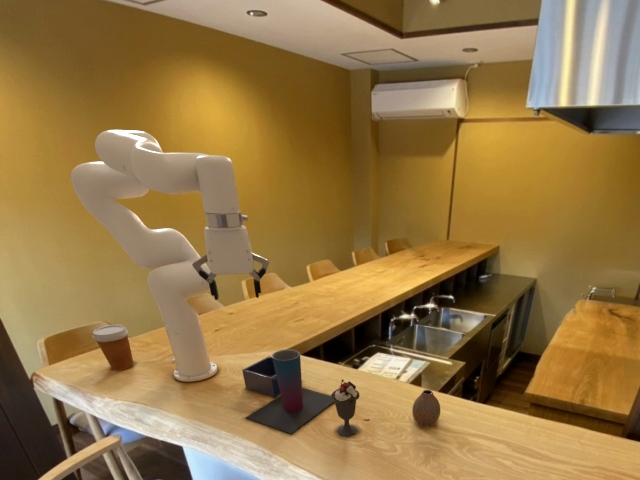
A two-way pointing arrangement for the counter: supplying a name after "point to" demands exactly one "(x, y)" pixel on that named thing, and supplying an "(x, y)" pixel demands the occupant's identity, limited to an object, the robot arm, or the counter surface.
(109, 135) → the robot arm
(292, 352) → the cup
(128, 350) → the disposable coffee cup
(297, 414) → the mat
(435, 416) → the vase
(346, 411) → the sundae
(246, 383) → the holder
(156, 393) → the counter surface
